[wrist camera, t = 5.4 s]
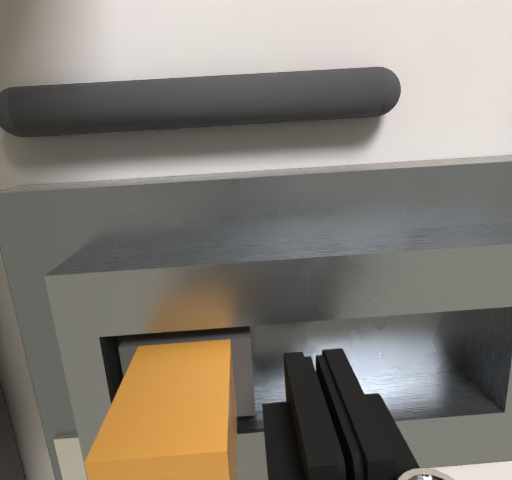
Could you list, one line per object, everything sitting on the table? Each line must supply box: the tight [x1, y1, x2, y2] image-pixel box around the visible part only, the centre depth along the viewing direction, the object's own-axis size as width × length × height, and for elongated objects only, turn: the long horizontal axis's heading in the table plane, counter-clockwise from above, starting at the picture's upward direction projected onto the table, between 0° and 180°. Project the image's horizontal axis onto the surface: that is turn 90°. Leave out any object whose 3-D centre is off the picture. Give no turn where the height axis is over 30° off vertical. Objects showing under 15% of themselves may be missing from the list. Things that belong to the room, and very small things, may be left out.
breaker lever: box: [85, 326, 255, 480], centre depth 11 cm, size 3×4×6 cm
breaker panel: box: [0, 155, 512, 480], centre depth 15 cm, size 12×20×4 cm, turn 93°
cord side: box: [0, 67, 401, 137], centre depth 14 cm, size 14×2×2 cm, turn 93°
